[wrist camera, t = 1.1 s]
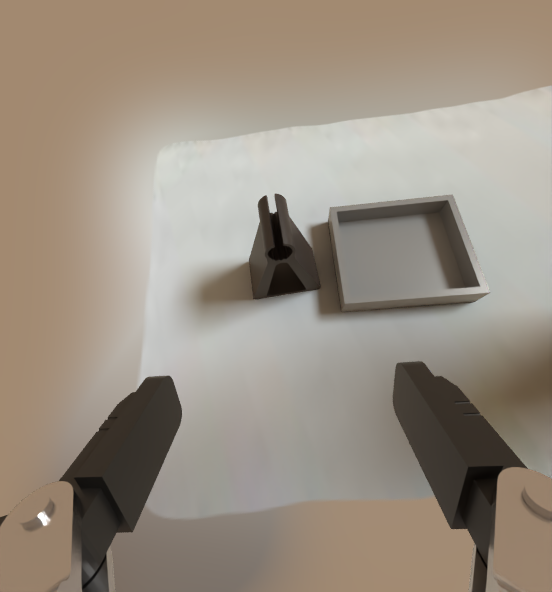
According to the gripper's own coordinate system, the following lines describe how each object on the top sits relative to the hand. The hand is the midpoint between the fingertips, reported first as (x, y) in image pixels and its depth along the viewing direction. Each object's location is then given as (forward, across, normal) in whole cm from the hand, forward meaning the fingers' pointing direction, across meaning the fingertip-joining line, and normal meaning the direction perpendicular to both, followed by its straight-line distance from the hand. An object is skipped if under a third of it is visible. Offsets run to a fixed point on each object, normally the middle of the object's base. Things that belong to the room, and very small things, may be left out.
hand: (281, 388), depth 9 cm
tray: (+28, -14, +4) cm, 31 cm away
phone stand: (+27, 0, +5) cm, 27 cm away
